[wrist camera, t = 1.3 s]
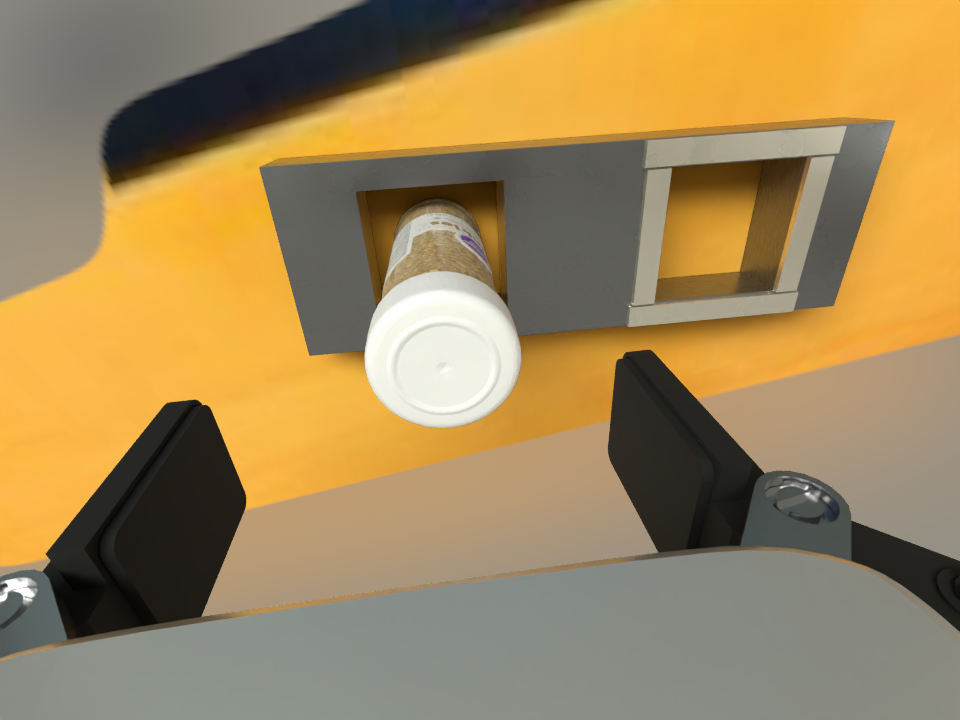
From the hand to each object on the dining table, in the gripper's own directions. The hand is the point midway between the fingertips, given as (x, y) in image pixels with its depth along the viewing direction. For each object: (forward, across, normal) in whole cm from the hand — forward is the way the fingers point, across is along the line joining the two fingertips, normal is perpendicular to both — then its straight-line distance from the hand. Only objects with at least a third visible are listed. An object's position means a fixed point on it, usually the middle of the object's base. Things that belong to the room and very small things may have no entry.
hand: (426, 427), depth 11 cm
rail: (+16, -8, 0) cm, 18 cm away
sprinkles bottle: (+16, -1, 0) cm, 16 cm away
